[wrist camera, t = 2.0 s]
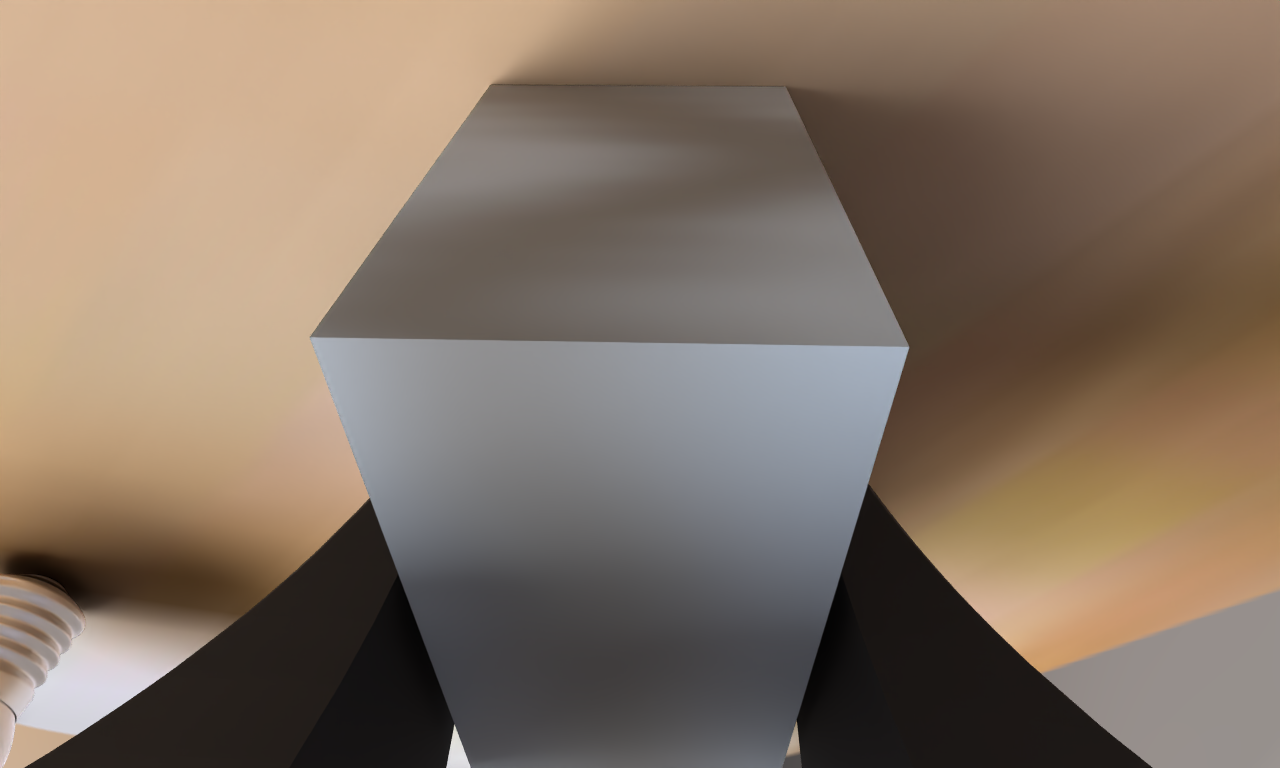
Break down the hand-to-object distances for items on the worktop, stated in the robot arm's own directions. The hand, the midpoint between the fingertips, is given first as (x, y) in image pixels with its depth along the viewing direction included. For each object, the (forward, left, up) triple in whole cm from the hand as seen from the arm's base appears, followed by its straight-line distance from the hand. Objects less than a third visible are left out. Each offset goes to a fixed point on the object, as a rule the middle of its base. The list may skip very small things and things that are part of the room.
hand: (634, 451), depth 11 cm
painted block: (0, 0, -2) cm, 2 cm away
